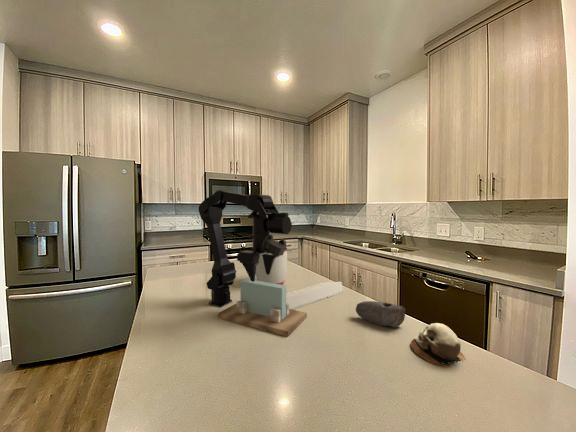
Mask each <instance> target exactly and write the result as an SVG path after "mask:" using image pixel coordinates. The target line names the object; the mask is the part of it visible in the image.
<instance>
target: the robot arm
mask: <svg viewBox="0 0 576 432" xmlns="http://www.w3.org/2000/svg"><path fill="white" fill-rule="evenodd" d="M228 203H230V204H234V205H235V204H236V205H239V206H243V207H246V209H248V210H250V211H251V213H250V214H249V215H248V216H247V218H248V219H252V234H250V236H249V238H250V239H252V246H250V247H249V250H247V249H245V250H242V251H241V250H240V251H238V253H237V256H236V258H237V259H236V261H237V262H239V263H240V264H242V265H243V268H244V269H245V272H246V273H247V275H248V277H249V278H248V279H250V280H251V281H252V282H254V281H255V280H256V266H257V265H258V264H259V261H258V260H259V258H260V256H261V255H262V256H263V261H264V266H265V271H266V274H267V275H269V274H270V271H271V268H272V265H273V262H274V260H275V259H276V258H277V257H279V256H280V255H283V253H284V250H287V249H288V248H287V240H286V239H279V241H278V240H274V236H273V234H279V235H280V234H281V235H288V234H290V232H291V230H292V224H293V222H292V220H291V218H290V217H289V212H279V210H278V208H277V207H276V205H275V203H274V201H273V198H272V196H271V195H268V194H257V193H256V194H245V193H237V192H232V191H229V190H222V189H219V190H216V191H215V192H214V193H213V194H212V195H210V196H208V197H207V198H205V199H204V200H203V201H201V202H200V204H199V206H198V213H199V216H200V219H201V220H202V222H204V223H205V225H206V228H207V233H208V238H209V242H210V248H211V253H212V257H213V265H212V266H211V267H212V268H211V277H210V278H209V279H208V281H207V282H206V286H207V287H206V288H207V289H208V290H211V291H210V292H211V300H210V301H208V305H213V306H216V307H220V308H221V307H224V306H225V305H228V304H230V303H232V302H233V299H231V290H230V286H232V285H234V281H235V279H236V277H237V270H236V265H235V263H234V261H232V262H231V261H230V260H229V259H228V255H227V250H226V244H225V240H224V236H223V231H222V227H221V221H222V218H223V211H224V209H225V208H226V207H227V204H228ZM287 251H288V250H287Z"/></svg>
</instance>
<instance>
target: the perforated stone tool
mask: <svg viewBox="0 0 576 432" xmlns="http://www.w3.org/2000/svg"><path fill="white" fill-rule="evenodd" d="M355 312H356V314H357V316H359V317H360V318H361V319H363V320H365V321H368V322H371V323H372V324H376V325H379V326H382V327H391V328H393V329H394V328H397V327H399V326H401V325H402V324H403V323H404V321H405V317H406V308H404V306H402V305H397V304H393V303H388V302H384V301H383V302H382V301H377V300H375V301H373V300H372V301H371V300H370V301H369V300H367V301H361V302H359V303H357V304H356V307H355Z"/></svg>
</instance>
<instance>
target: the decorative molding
mask: <svg viewBox="0 0 576 432" xmlns="http://www.w3.org/2000/svg"><path fill="white" fill-rule="evenodd" d="M339 293H340V294H342V293H344V287H343V282H342V281H327V282H322V283H317V284H313V285H310V286H307V287H304V288H301V289H300V288H299V289H296V290H293V291H289V292H286V303H289V309H292V310H295V309H299V308H302V307H305V306H308V305H309V304H313V303H316V302H319V301H322V300H325V299H328V298H331V297H334V296H337V295H340V294H339ZM330 296H331V297H330ZM327 297H328V298H327Z"/></svg>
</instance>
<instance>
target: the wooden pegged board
mask: <svg viewBox="0 0 576 432" xmlns="http://www.w3.org/2000/svg"><path fill="white" fill-rule="evenodd" d="M307 313H308V312H305V311H301V310H295V309H293V310H292V309H289V303H286V317H285V318H283V319H282V320H281V310H279V309H274V308H272V309H270V317H268V316H263V315H259V314H255V313H251V312H247V311H246V302H243V301H241V300H238V301H236V303H234V304H232V305H230V306H229V307H227V308H225V309H223V310H222V311H219V312H218V313H217V317H218V319H223V320H225V321H229V322H233V323H237V324H241V325H244V326H247V327H252V328H256V329H258V330H261V331H266V332H270V333H273V334H277V335H280V336H282V337H283V336H284V337H287V338H288V337H289V336H291V334H292V333H293V332H294V331H296V330H297V328H298V327H299V326H300V325H301V324H302V323H303V322H304V321H305V319H307V317H308V314H307Z"/></svg>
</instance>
